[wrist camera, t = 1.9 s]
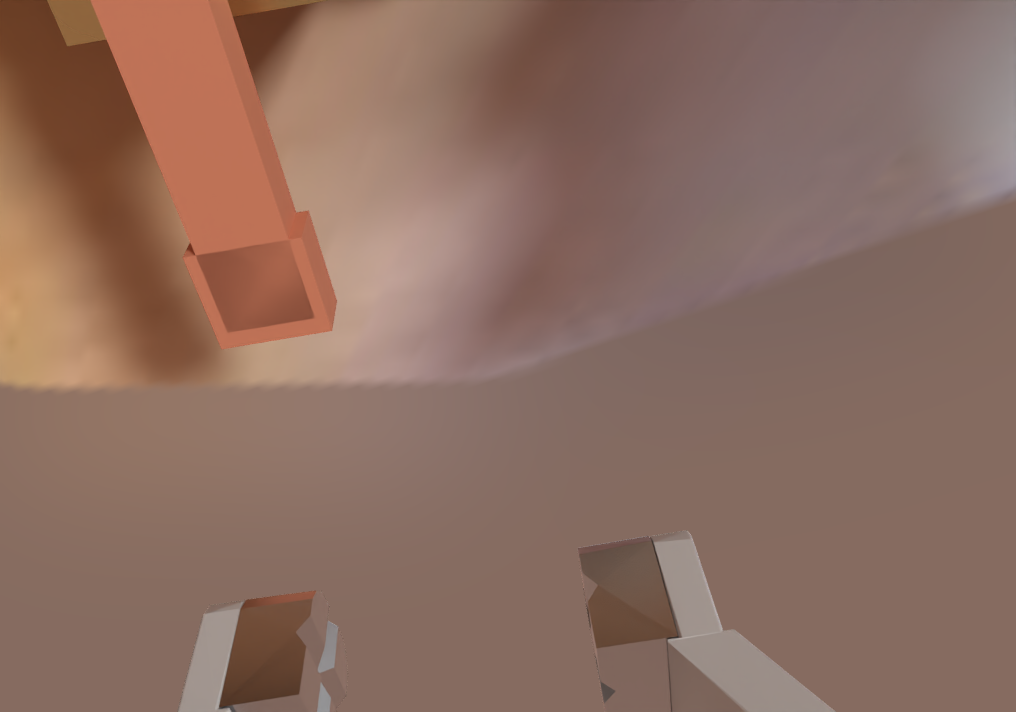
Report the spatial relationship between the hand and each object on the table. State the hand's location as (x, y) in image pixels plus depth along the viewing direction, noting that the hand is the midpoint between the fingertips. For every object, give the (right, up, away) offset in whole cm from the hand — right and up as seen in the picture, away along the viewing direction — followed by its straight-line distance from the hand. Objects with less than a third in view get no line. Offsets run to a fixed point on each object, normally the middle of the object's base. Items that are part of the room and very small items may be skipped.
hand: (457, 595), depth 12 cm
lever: (-7, +10, +10) cm, 16 cm away
